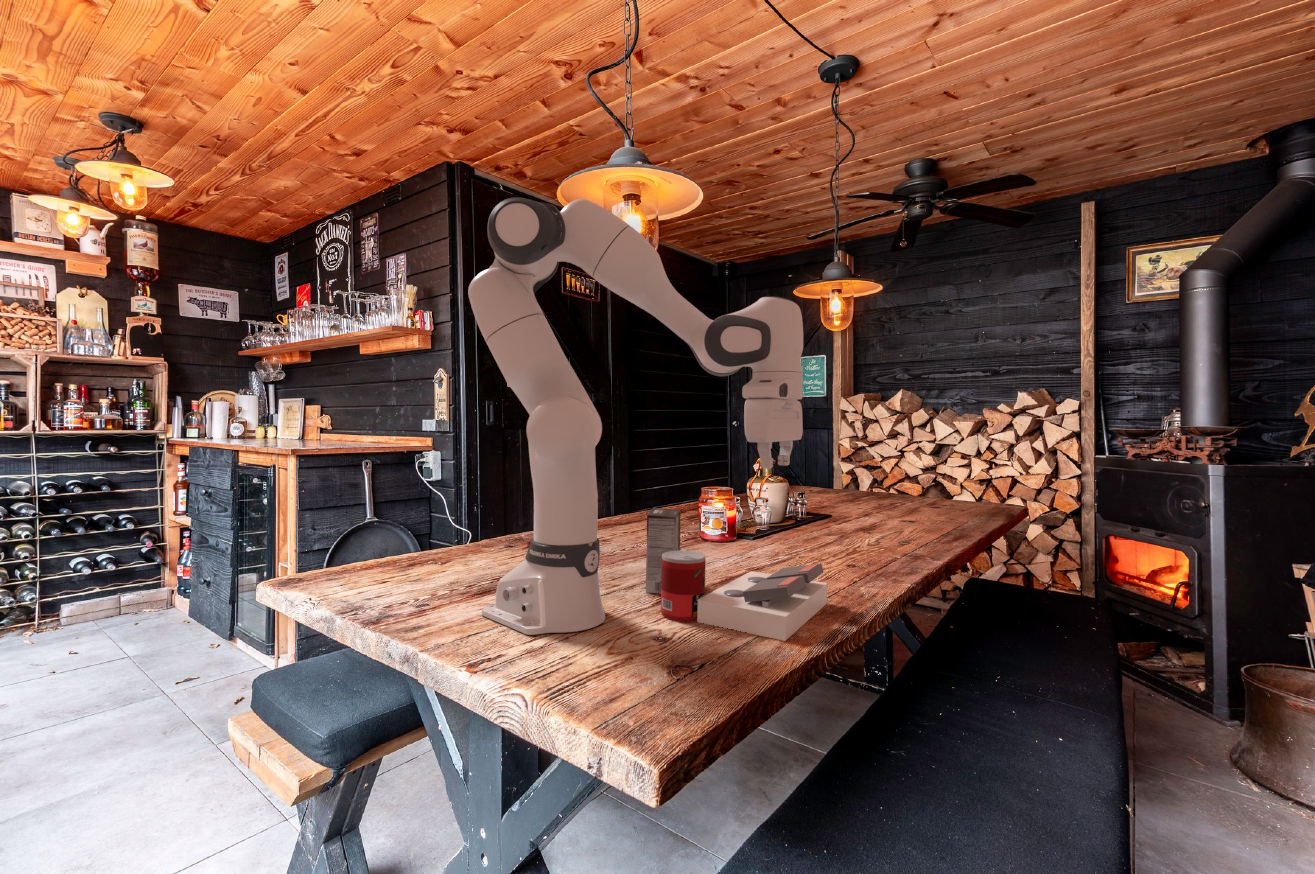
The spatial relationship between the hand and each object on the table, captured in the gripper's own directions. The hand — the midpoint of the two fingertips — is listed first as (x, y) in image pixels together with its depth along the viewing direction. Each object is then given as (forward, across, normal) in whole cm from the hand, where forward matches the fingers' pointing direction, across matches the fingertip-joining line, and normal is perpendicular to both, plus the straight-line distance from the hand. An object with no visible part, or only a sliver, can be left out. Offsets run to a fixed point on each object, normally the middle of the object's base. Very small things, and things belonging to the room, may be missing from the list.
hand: (775, 466), depth 109 cm
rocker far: (+21, -8, +2) cm, 23 cm away
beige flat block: (+27, -2, -2) cm, 27 cm away
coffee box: (+28, -5, -26) cm, 38 cm away
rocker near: (+21, +3, +2) cm, 21 cm away
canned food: (+28, +8, -14) cm, 32 cm away
